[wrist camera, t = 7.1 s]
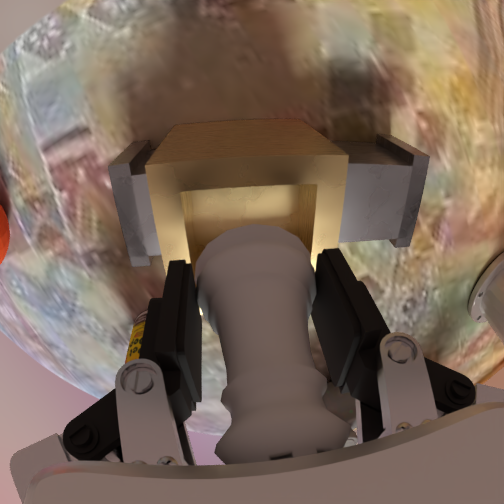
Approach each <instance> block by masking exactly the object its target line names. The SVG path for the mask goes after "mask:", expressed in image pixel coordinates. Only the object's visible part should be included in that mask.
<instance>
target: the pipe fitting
mask: <svg viewBox="0 0 504 504" xmlns="http://www.w3.org/2000/svg"><path fill="white" fill-rule="evenodd" d="M322 399H323V402H324V404H325V407H326V409H327V410H328V411H330V412H331V413H333V414H334V415H336V416H337V417H339V418H340V419H342V420H343V421H345V422H346V423H348V424H349V425H351V430H350V435H349V437H348V439H347V441H346V443H345V446H344V448H345V447H349V446H353V445H356V444H357V442H358V439H357V435H356V433H355V432H354V431H353V429H355V428H357V419H356V403H355V398H353V397H351V395H350V392H349V393H344V394H341V393H340V390H339V387H334V385H333V382H329V383H327V389H326V391H325V393H324V395H323V397H322Z"/></svg>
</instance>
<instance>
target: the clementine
mask: <svg viewBox="0 0 504 504" xmlns="http://www.w3.org/2000/svg"><path fill="white" fill-rule="evenodd" d="M9 239H10V231H9V223H8V219H7V216H6V213H5V211H4V210H3V208H2V206H1V205H0V264H1V263H2V261H3V259H4V257H5V256H6V253H7V250H8V245H9Z"/></svg>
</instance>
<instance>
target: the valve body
mask: <svg viewBox="0 0 504 504" xmlns="http://www.w3.org/2000/svg"><path fill="white" fill-rule="evenodd" d="M429 158H430V156H428V155H426V154H425V153H423V152H421V151H419V150H418V149H416V148H414V147H412V146H411V145H409V144H407V143H405V142H403V141H401V140H399V139H398V138H396V137H394V136H392V135H385V134H377V139H376V143H368V142H348V141H329V140H328V139H327V138H325V137H324V136H323V135H321V134H320V133H318V132H317V131H316V130H314V129H313V128H312V127H310V126H309V125H307V124H306V123H304V122H303V121H302V120H300V119H251V120H230V121H214V122H202V123H191V124H181V125H175V126H174V127H173V128H172V130H171V131H170V132H169V133H168V135H167V136H166V137H165V139H164V140H163V141H162V143H161V144H160V145H159V147H158V148H157V149H155V150H151V149H150V141H149V140H147V141H140V142H133V143H131V144H130V145H129V146H128V147H127V148H126V149H125V150H124V151H123V152H122V153H121V154H120V155H119V156H118V157H117V158H116V159H115V160H114V161H113V162H112V163H111V164H110V165H109V166H108V170H109V175H110V180H111V185H112V190H113V194H114V199H115V203H116V207H117V212H118V216H119V220H120V224H121V228H122V232H123V236H124V239H125V243H126V247H127V250H128V254H129V257H130V261H131V264H132V267H136V266H151V262H152V259H153V256H155V255H162V259H163V263H164V268H165V272H166V275H167V270H168V265H169V261H170V260H184V259H185V260H186V263H191V264H192V268H193V274H194V280H195V269H196V261H197V260H198V258H199V257H200V255H201V253H202V252H203V250H204V249H205V247H206V246H207V244H208V243H210V242H211V241H213V240H214V239H215V238H217V237H218V236H220V235H221V234H223V233H224V232H226V231H227V230H230V229H234V228H238V227H242V226H246V225H251V224H259V225H268V226H277V227H280V228H282V229H284V230H286V231H288V232H289V233H291V234H293V235H295V236H297V237H299V239H300V240H301V242H302V243H303V244H304V246H305V247H306V249H307V250H308V251H309V253H310V257H311V264H312V266H313V267H314V269H315V270H316V262H317V255H318V254H319V253H322V251H323V249H331V248H337V247H338V243H340V242H355V241H370V240H385V239H389V241H390V242H391V243H392V244H393V246H394V247H395V248H397V247H409V246H410V242H411V239H412V235H413V231H414V228H415V224H416V220H417V216H418V212H419V207H420V203H421V199H422V194H423V189H424V185H425V180H426V175H427V169H428V164H429ZM195 286H196V283H195ZM199 308H200V307H199ZM200 313H201V314H203V313H202V311H201V309H200Z"/></svg>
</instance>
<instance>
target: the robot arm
mask: <svg viewBox="0 0 504 504" xmlns="http://www.w3.org/2000/svg"><path fill="white" fill-rule="evenodd" d="M315 277H316V296H315V299H314V301H313V304H312V312H311V317H312V320H313V323H314V326H315V329H316V332H317V335H318V338H319V341H320V344H321V347H322V350H323V354H324V357H325V360H326V363H327V366H328V369H329V373H330V376H331V379H332V382H333V385H334V387H339V390H340V393H341V394H344V393H349V392H350V395H351V397H353V398H355V403H356V419H357V439H358V444H357V445H353V446H349V447H345V448H340V449H336V450H331V451H327V452H322V453H317V454H311V455H306V456H300V457H294V458H287V459H280V460H272V461H264V462H254V463H243V464H228V465H205V466H197V464H196V461H195V458H194V454H193V451H192V447H191V443H190V440H189V436H188V432H187V428H186V424H185V420H187V419H188V418H189V417H190V416H191V415H192V411H196V402H201V400H202V383H201V360H202V319H201V313H200V308H199V305H198V302H197V299H196V286H195V280H194V274H193V268H192V264H191V263H186V260H185V259H184V260H170V261H169V265H168V270H167V275H166V281H165V286H164V292H163V298H151V300H150V302H149V306H148V311H147V316H146V321H145V326H144V331H143V337H142V342H141V348H140V353H139V359H135V360H132V361H129V362H127V363H126V364H124V365H123V366H122V367H121V368H120V369H119V371H118V373H117V375H116V380H115V387H116V388H115V389H113V390H112V391H111V392H109V393H108V394H107V395H105V396H104V397H103V398H101V399H100V400H99V401H97V402H96V403H95V404H93V405H92V406H91V407H89V408H88V409H87V410H85V411H84V412H83V413H81V414H80V415H79V416H77V417H76V418H74V419H73V420H71V422H69V423H68V424H67V426H66V427H65V430H64V432H63V434H61V435H58V434H57V433H56V434H53V435H51V436H49V437H47V438H45V439H43V440H41V441H39V442H37V443H35V444H33V445H30V446H28V447H26V448H24V449H21V450H19V451H17V452H16V453H15V454H14V455H13V456H12V458H11V461H10V470H11V474H12V477H13V480H14V483H15V486H16V488H17V491H18V494H19V496H20V499H21V501H22V504H504V390H503V389H499V388H495V387H490V386H486V385H482V384H479V383H477V384H476V385H475V386H474V385H473V383H472V381H471V380H470V379H469V378H468V377H466V376H465V375H463V374H461V373H458V372H456V371H454V370H452V369H449V368H447V367H445V366H443V365H440V364H438V363H436V362H434V361H431V360H429V359H427V358H425V357H424V356H423V353H422V349H421V347H420V345H419V343H418V342H417V341H416V339H415V338H413V337H412V336H410V335H408V334H405V333H401V332H394V333H391V332H390V330H389V329H388V327H387V325H386V323H385V321H384V319H383V317H382V315H381V313H380V312H379V310H378V308H377V306H376V304H375V302H374V300H373V299H372V297H371V295H370V293H369V291H368V290H367V288H366V286H365V284H364V283H363V282H362V281H357V279H356V277H355V276H354V274H353V272H352V270H351V268H350V267H349V265H348V263H347V261H346V260H345V258H344V256H343V254H342V253H341V251H340V249H339V248H331V249H323V251H322V253H319V254H318V255H317V262H316V270H315ZM468 312H469V315H470V316H471V318H472V319H473V320H474V321H475V322H479V323H481V322H486V321H488V323H489V324H490V326H491V327H492V328H493V330H494V331H495V333H496V334H497V336H498V337H499V339H500V340H501V342H502V343H503V345H504V252H503V253H502V254H501V255H499V256H498V257H497V258H496V259H495V260H494V261H493V262H492V263H491V265H490V266H489V267H488V268H487V269H486V271H485V272H484V273H483V275H482V276H481V277H480V279H479V281H478V282H477V284H476V286H475V288H474V290H473V292H472V294H471V297H470V300H469V304H468Z"/></svg>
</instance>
